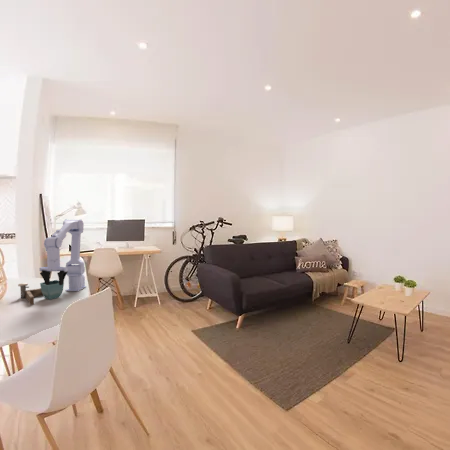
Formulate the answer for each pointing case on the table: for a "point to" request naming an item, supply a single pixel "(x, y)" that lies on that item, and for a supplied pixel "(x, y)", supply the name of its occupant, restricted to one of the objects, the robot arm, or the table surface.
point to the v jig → (29, 293)
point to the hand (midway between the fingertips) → (54, 284)
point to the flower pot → (52, 289)
